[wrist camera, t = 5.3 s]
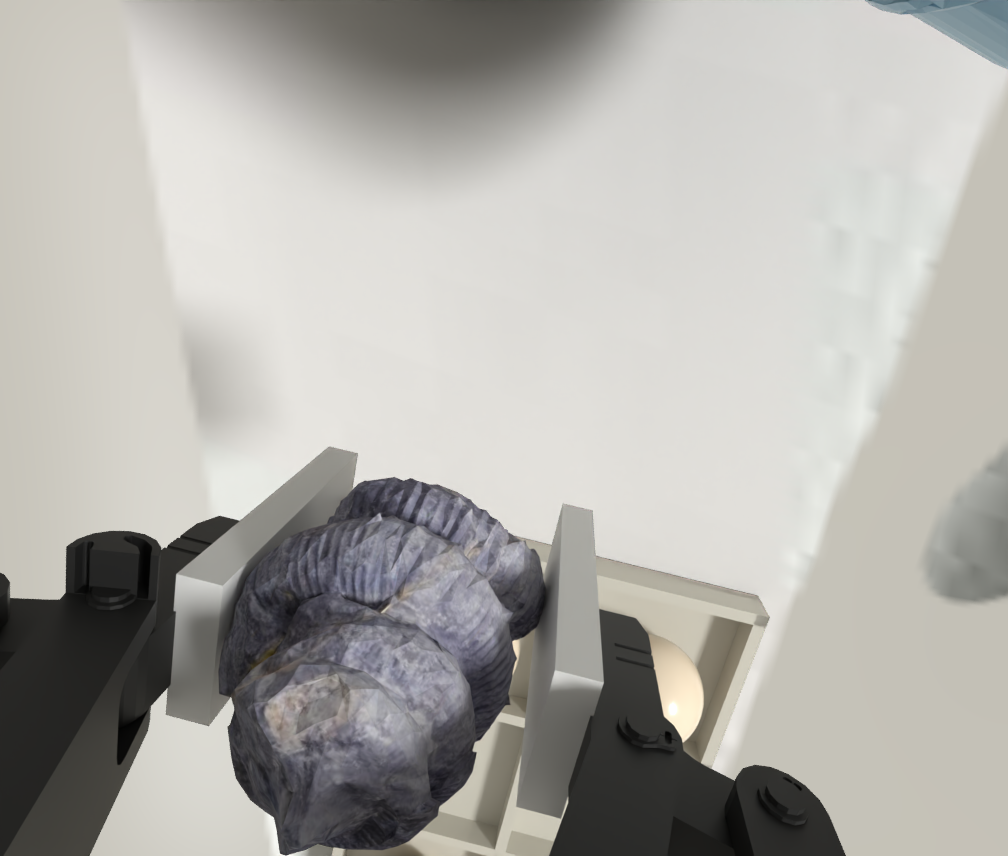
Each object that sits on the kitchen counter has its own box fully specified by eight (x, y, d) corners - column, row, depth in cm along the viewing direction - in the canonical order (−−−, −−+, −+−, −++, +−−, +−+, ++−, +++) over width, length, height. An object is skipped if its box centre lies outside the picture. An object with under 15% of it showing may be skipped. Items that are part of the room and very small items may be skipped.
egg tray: (403, 508, 34) (392, 524, 32) (758, 596, 33) (769, 617, 31) (329, 898, 42) (318, 930, 40) (615, 975, 41) (617, 1011, 39)
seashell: (350, 585, 18) (103, 968, 9) (367, 402, 17) (86, 621, 7) (538, 620, 18) (498, 1058, 8) (572, 437, 16) (572, 717, 7)
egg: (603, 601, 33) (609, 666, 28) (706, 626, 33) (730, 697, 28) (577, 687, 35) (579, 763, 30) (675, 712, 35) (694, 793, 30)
